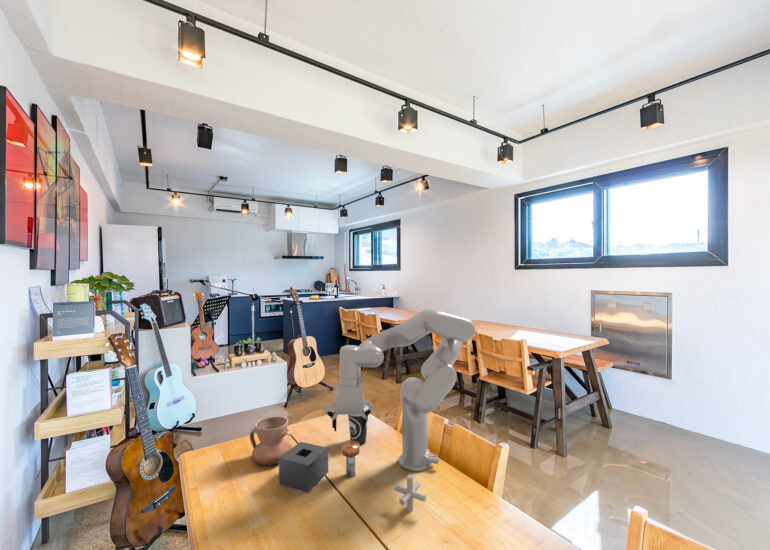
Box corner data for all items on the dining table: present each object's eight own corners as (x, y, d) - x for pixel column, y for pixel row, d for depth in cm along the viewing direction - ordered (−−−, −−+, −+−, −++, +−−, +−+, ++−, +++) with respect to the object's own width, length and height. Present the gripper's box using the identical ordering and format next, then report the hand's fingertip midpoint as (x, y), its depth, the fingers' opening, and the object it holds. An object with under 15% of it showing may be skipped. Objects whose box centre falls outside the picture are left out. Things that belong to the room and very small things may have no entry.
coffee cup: (368, 447, 137) (368, 411, 137) (345, 447, 137) (345, 411, 137) (370, 436, 146) (370, 402, 146) (348, 436, 146) (348, 402, 146)
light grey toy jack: (417, 526, 93) (417, 491, 94) (387, 513, 99) (387, 479, 99) (431, 505, 102) (431, 473, 102) (403, 494, 107) (403, 463, 107)
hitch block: (328, 472, 119) (328, 447, 119) (308, 493, 108) (308, 465, 108) (300, 465, 124) (300, 441, 124) (279, 484, 113) (278, 458, 113)
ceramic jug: (301, 452, 133) (300, 416, 134) (280, 472, 119) (280, 432, 120) (262, 447, 138) (262, 412, 139) (238, 465, 124) (238, 427, 125)
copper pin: (362, 471, 120) (362, 442, 120) (354, 481, 114) (354, 451, 114) (347, 468, 122) (346, 439, 122) (338, 477, 116) (338, 447, 116)
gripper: (372, 377, 123) (372, 423, 123) (325, 378, 121) (324, 425, 120) (375, 383, 116) (374, 432, 115) (324, 384, 113) (323, 435, 113)
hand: (348, 429), depth 118 cm, fingers open, 9 cm apart
